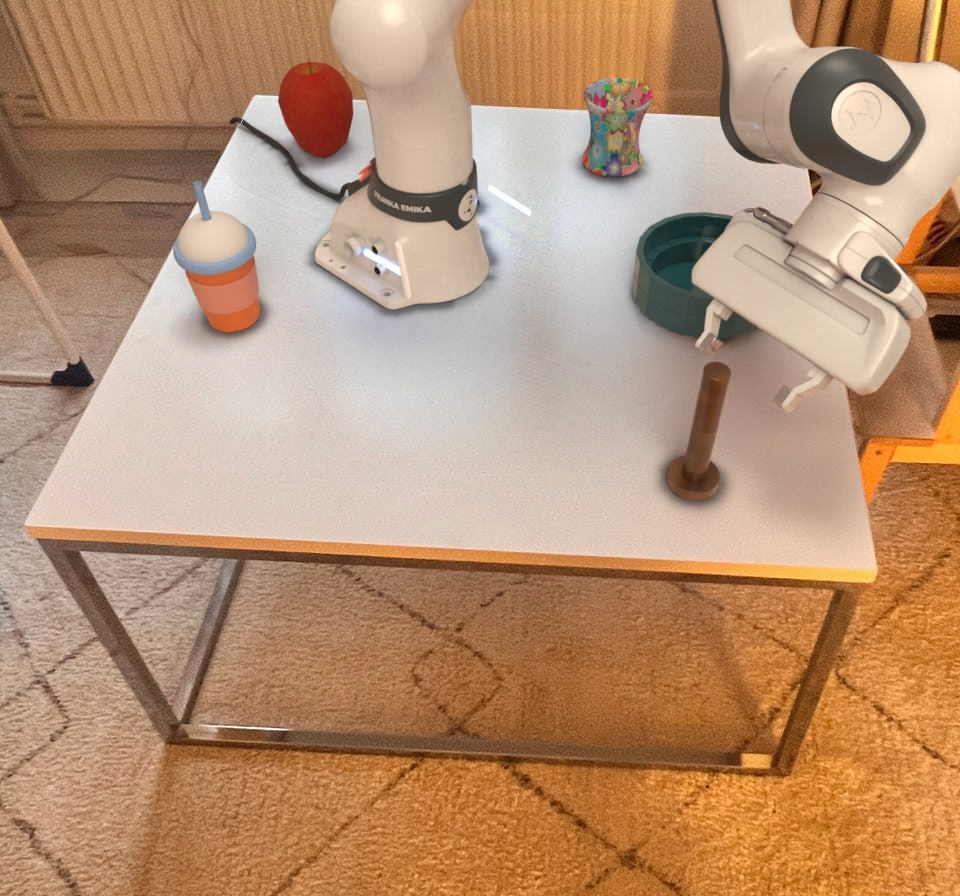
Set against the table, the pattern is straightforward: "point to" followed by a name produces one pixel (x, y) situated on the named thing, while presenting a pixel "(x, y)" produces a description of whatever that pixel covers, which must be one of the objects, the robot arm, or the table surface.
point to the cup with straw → (220, 266)
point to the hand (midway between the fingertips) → (740, 378)
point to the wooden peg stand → (702, 438)
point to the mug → (615, 125)
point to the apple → (316, 107)
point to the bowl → (679, 274)
